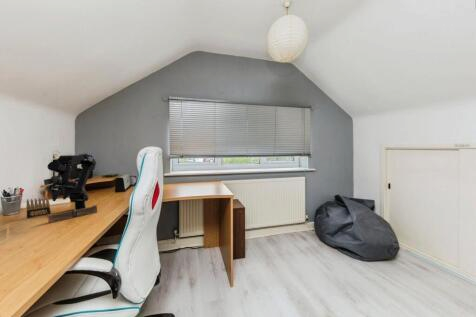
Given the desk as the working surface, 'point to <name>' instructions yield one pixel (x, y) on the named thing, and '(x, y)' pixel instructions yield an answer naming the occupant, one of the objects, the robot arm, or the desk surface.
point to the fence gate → (60, 216)
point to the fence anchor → (84, 211)
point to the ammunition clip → (38, 208)
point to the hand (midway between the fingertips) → (59, 200)
